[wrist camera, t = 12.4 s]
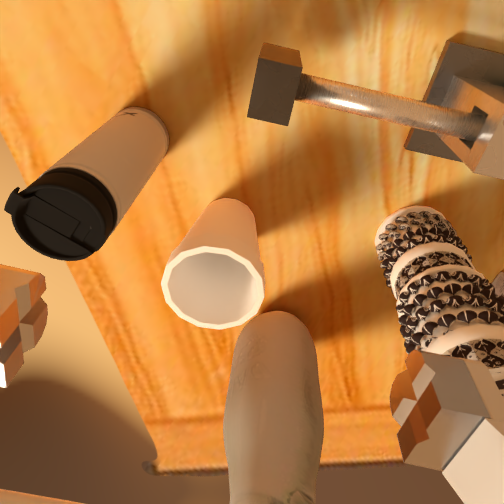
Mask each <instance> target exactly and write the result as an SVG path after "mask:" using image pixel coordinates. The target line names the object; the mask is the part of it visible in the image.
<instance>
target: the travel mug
mask: <svg viewBox="0 0 504 504" xmlns="http://www.w3.org/2000/svg"><path fill="white" fill-rule="evenodd" d="M168 147H169V134H168V131H167V128H166V126H165V124H164V123H163V121H162V120H161V119H160V118H159V117H158V116H157V115H156V114H155V113H153V112H151V111H150V110H148V109H145V108H141V107H129V108H125V109H123V110H121V111H120V112H118V113H117V114H116V115H115V116H114V117H112V118H111V119H110V120H109V121H107V122H106V123H105V124H104V125H102V126H101V127H100V128H99V129H97V130H96V131H95V132H94V133H92V134H91V135H90V136H89V137H88V138H86V139H85V140H84V141H83V142H81V143H80V144H79V145H78V146H76V147H75V148H74V149H73V150H71V151H70V152H69V153H68V154H66V155H65V156H64V157H63V158H61V159H60V160H59V161H58V162H57V163H55V164H54V165H53V166H52V167H50V168H49V169H48V170H47V171H45V172H44V173H43V174H42V175H41V176H40V177H39V178H38V179H37V180H36V181H34V182H33V183H32V184H31V185H30V186H28V187H27V188H26V189H25V190H23V191H21V192H20V193H18V191H19V189H20V188H19V187H17V188H16V189H14V190H13V191H12V193H11V194H10V196H9V198H8V200H7V202H6V205H5V209H4V210H5V211H6V212H8V213H9V214H11V215H12V216H11V217H12V222H13V225H14V227H15V230H16V232H17V233H18V234H19V236H20V237H21V239H22V240H23V241H24V242H25V243H26V244H27V245H29V246H30V247H31V248H33V249H34V250H35V251H37V252H39V253H41V254H43V255H45V256H48V257H50V258H54V259H58V260H65V261H77V260H81V259H85V258H87V257H88V256H90V255H92V254H93V253H94V252H95V251H98V250H99V249H100V248H101V247H102V246H103V244H104V243H105V242H106V240H107V239H108V237H109V236H110V235H111V233H112V232H113V231H114V230H115V228H116V227H117V225H118V224H119V222H120V221H121V219H122V218H123V217H124V215H125V214H126V212H127V211H128V209H129V208H130V206H131V205H132V203H133V202H134V200H135V199H136V197H137V196H138V194H139V193H140V191H141V190H142V188H143V187H144V186H145V184H146V183H147V181H148V180H149V178H150V177H151V175H152V174H153V172H154V171H155V169H156V168H157V166H158V165H159V163H160V162H161V160H162V159H163V158H164V156H165V154H166V152H167V151H168Z"/></svg>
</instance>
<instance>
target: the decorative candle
mask: <svg viewBox="0 0 504 504" xmlns="http://www.w3.org/2000/svg"><path fill="white" fill-rule="evenodd" d="M375 245H376V250H377V254H378V260H383V262H381V263H380V267H381V268H385V271H384V277H385V278H387V280H386V284H387V286H388V287H391V288H392V293H393V294H394V296H395V298H396V299H397V303H396V310H397V312H398V317H399V323H400V324H401V325H402V326H401V328H400V332H401V334H402V335H403V338H404V339H405V342H404V346H405V348H406V352H407V353H408V355H409V353H411V352H412V351H413V350H414V349H416V350H421V351H426V352H431V353H437V354H442V355H447V356H452V357H456V358H465V359H470V360H476V361H481V362H482V363H484V364H485V365H486V366H487V368H488V370H489V372H490V374H491V375H492V377H493V379H494V381H495V383H496V385H497V387H498V389H499V391H500V393H501V395H502V396H503V398H504V299H503V298H501V297H500V296H499V295H496V294H495V288H494V286H493V285H492V284H491V283H489V281H488V280H487V279H486V278H485V277H484V276H483V274H482V273H480V272H478V271H476V270H475V267H474V266H473V264H472V263H471V262H472V257H471V255H469V254H467V248H466V246H465V245H462V241H461V239H460V238H459V237H458V236H457V233H456V231H455V229H454V228H453V227H452V226H451V223H450V222H449V221H448V220H446V218H445V217H444V215H443V214H442V213H441V212H439V211H437V210H435V209H433V208H431V207H428V206H418V205H414V206H410V207H406V208H402V209H399V210H397V211H396V212H394V213H392V214H391V215H389V216H388V217H386V219H385V220H384V221H383V222H382V224H381V225H380V226H379V228H378V230H377V233H376V237H375Z"/></svg>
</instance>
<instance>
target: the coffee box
mask: <svg viewBox="0 0 504 504" xmlns="http://www.w3.org/2000/svg"><path fill="white" fill-rule="evenodd" d="M492 285H493V286H494V288H495V294H496V295H499V296H500V297H501V298H503V299H504V272H502V271H501V272H500V273H499V274H498V276H497V277H496V278H495V280H494V281H493V282H492Z"/></svg>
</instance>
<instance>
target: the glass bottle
mask: <svg viewBox="0 0 504 504" xmlns="http://www.w3.org/2000/svg"><path fill="white" fill-rule="evenodd" d="M223 434H224V446H225V452H226V457H227V462H228V469H229V485H230V504H315V489H316V478H317V473H318V469H319V463H320V457H321V450H322V444H323V436H324V419H323V408H322V400H321V392H320V385H319V377H318V365H317V355H316V349H315V345H314V342H313V340H312V337H311V335H310V332H309V330H308V329H307V327H306V326H305V325H304V324H303V323H302V322H301V321H300V320H299V319H298V318H297V317H296V316H295V315H292V314H290V313H288V312H284V311H271V312H267V313H263V314H260V315H258V316H256V317H255V318H253V319H252V320H251V321H250V322H249V323H248V324H247V325H246V326H245V327H244V328H243V330H242V331H241V333H240V335H239V337H238V340H237V342H236V346H235V350H234V355H233V361H232V368H231V374H230V381H229V387H228V392H227V398H226V405H225V413H224V422H223Z"/></svg>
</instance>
